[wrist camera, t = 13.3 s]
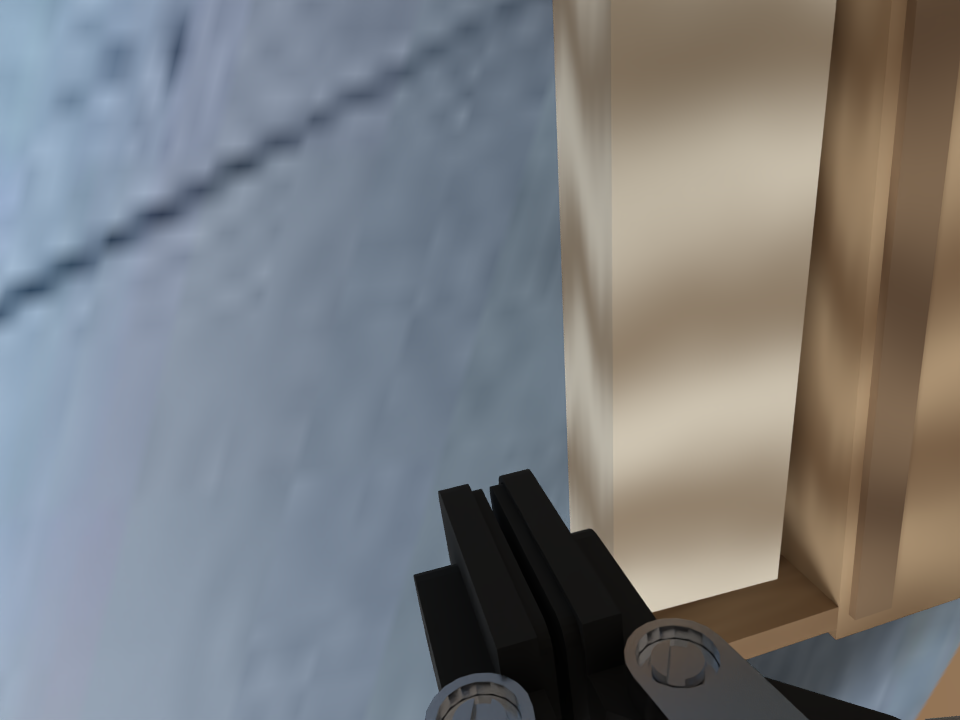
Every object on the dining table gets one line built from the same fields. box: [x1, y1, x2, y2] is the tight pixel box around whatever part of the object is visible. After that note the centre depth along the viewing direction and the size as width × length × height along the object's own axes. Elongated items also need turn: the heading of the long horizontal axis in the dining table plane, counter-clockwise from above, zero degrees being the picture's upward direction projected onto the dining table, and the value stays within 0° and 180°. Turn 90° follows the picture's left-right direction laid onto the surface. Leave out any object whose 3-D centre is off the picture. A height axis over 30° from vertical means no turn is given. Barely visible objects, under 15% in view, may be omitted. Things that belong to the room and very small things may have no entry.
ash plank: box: [553, 0, 837, 612], centre depth 21 cm, size 20×6×4 cm, turn 4°
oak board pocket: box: [652, 0, 960, 660], centre depth 22 cm, size 26×18×4 cm
